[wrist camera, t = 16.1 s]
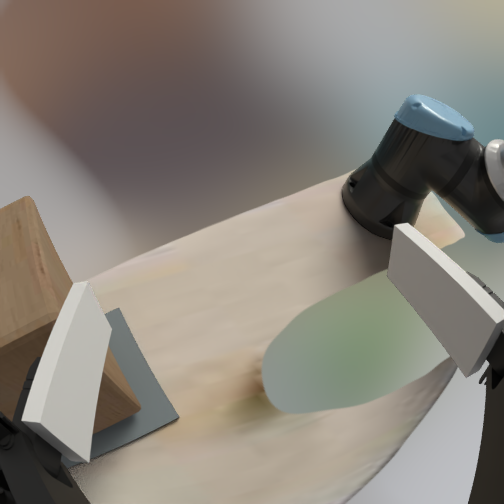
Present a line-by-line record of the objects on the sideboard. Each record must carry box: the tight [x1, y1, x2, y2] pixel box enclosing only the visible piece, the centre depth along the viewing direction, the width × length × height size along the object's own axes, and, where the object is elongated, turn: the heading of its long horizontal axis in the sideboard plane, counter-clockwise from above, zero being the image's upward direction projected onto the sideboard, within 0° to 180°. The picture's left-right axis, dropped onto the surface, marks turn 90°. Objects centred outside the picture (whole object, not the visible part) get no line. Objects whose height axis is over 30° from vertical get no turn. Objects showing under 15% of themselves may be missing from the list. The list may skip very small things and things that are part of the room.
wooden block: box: [0, 196, 141, 435], centre depth 18 cm, size 10×10×20 cm
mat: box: [61, 308, 179, 468], centre depth 26 cm, size 16×14×1 cm
